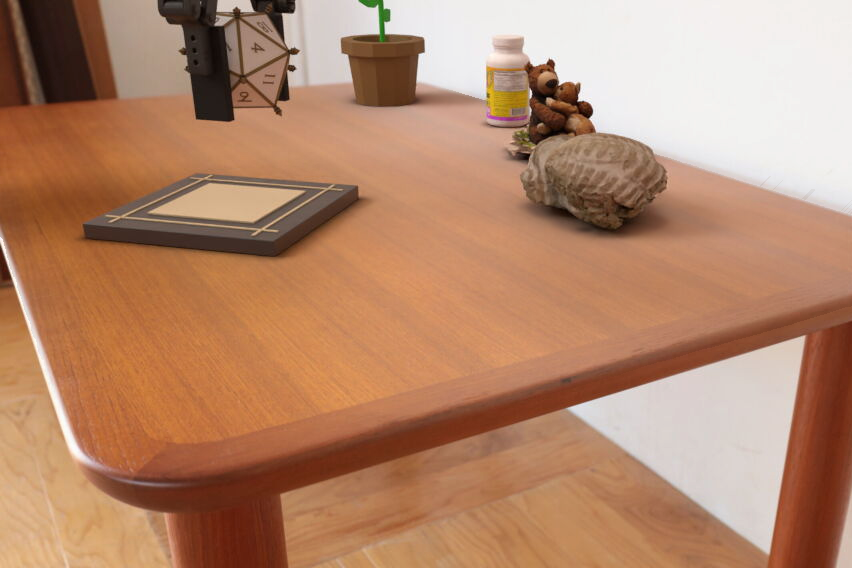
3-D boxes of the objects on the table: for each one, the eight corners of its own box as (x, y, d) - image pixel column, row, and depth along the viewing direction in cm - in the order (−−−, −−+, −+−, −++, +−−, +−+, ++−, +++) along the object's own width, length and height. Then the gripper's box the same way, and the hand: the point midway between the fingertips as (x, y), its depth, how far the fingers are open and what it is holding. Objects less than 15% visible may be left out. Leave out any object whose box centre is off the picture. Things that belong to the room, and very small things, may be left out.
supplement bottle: (493, 118, 142) (493, 33, 136) (534, 121, 140) (535, 34, 135) (480, 126, 136) (480, 37, 131) (522, 129, 134) (524, 39, 129)
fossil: (499, 178, 101) (533, 94, 98) (599, 214, 106) (633, 134, 103) (548, 225, 85) (590, 126, 82) (662, 264, 91) (705, 172, 88)
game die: (261, 166, 69) (255, 69, 61) (164, 120, 69) (144, 16, 61) (320, 96, 74) (322, -4, 65) (229, 53, 74) (218, -52, 66)
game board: (84, 238, 86) (81, 221, 85) (197, 185, 104) (195, 171, 103) (275, 256, 82) (273, 239, 81) (359, 198, 100) (358, 183, 99)
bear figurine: (532, 173, 110) (534, 71, 105) (495, 147, 123) (495, 55, 118) (632, 166, 114) (639, 67, 109) (586, 141, 127) (590, 52, 122)
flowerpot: (355, 92, 162) (344, -92, 149) (433, 94, 161) (429, -91, 148) (333, 107, 149) (318, -93, 136) (418, 109, 148) (411, -93, 135)
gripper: (166, -272, 49) (216, 141, 59) (327, -219, 68) (345, 90, 77) (50, -269, 51) (117, 133, 61) (238, -218, 69) (266, 85, 79)
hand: (245, 108), depth 69 cm, fingers closed on game die, 8 cm apart
